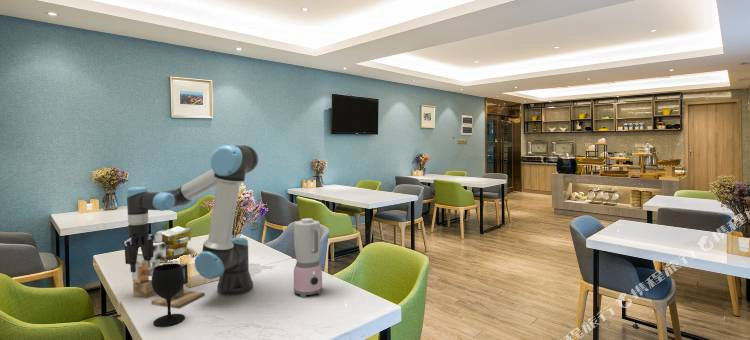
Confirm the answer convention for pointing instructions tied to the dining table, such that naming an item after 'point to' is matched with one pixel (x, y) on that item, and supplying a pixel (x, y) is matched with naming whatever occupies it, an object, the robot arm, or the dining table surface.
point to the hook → (143, 273)
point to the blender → (307, 257)
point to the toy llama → (155, 251)
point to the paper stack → (176, 243)
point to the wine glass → (168, 290)
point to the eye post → (185, 272)
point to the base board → (180, 299)
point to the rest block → (143, 289)
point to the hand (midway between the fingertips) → (140, 277)
